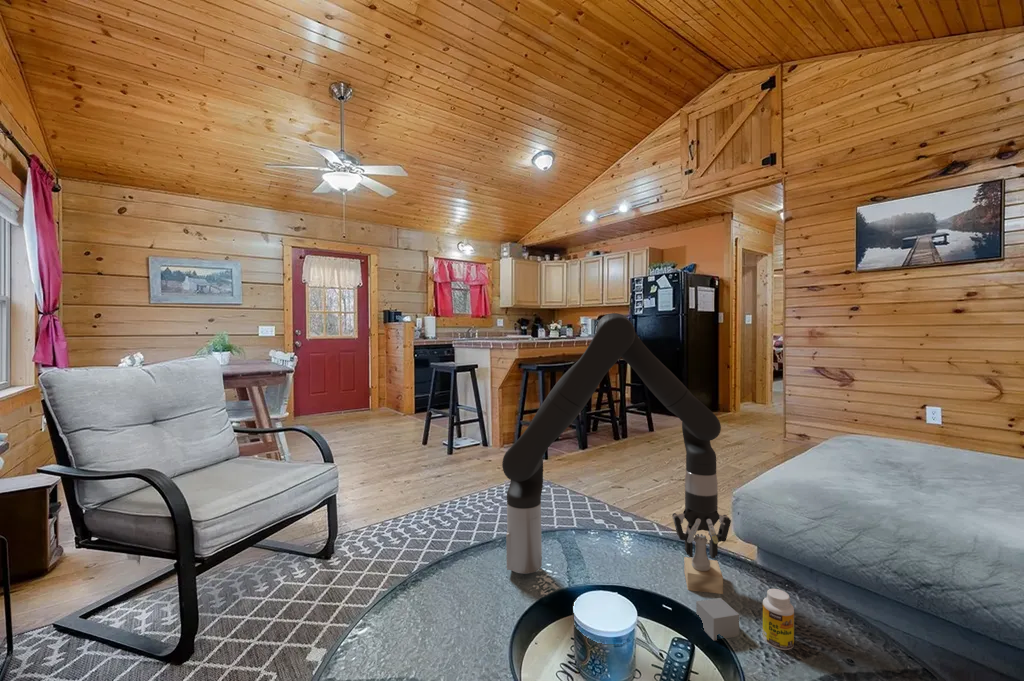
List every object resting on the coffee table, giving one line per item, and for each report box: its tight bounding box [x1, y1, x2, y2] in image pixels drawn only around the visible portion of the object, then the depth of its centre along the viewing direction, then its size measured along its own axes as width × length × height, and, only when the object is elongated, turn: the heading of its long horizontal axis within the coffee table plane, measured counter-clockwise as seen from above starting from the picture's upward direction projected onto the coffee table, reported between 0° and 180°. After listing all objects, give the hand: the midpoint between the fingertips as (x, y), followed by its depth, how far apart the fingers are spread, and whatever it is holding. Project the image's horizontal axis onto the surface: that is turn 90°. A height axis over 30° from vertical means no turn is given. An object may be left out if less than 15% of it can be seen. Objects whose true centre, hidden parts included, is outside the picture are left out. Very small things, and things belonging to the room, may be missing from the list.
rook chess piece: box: [691, 533, 711, 571], centre depth 112 cm, size 4×4×8 cm
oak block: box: [683, 556, 724, 595], centre depth 113 cm, size 8×8×5 cm
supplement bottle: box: [762, 588, 795, 651], centre depth 92 cm, size 6×6×10 cm
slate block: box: [695, 597, 740, 641], centre depth 96 cm, size 6×6×5 cm
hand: (701, 555), depth 112 cm, fingers open, 4 cm apart
